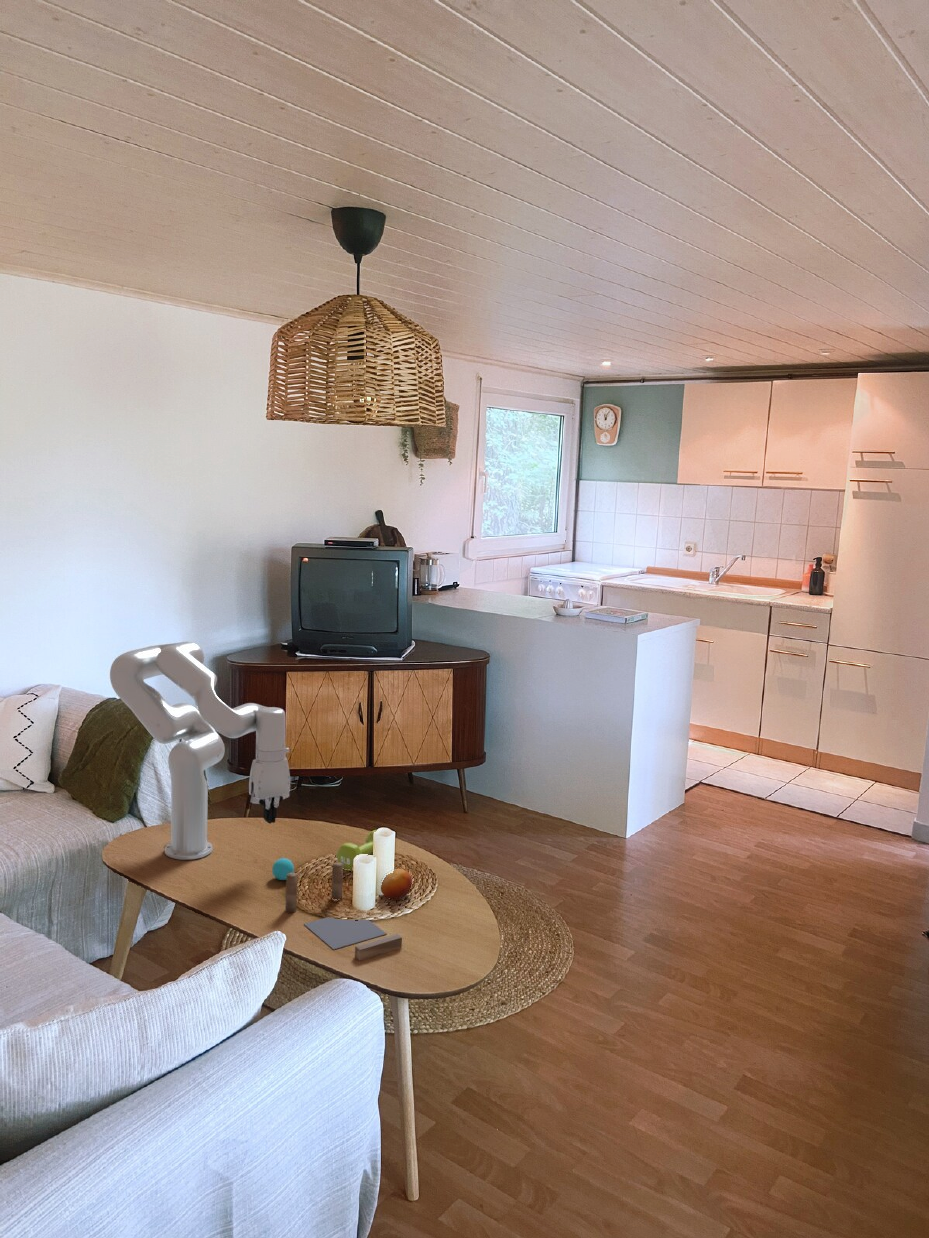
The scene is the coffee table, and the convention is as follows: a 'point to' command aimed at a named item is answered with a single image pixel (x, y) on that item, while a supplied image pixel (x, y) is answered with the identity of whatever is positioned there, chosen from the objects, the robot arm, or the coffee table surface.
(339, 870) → the post
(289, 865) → the ball
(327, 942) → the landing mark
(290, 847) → the coffee table surface
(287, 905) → the post
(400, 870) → the fruit
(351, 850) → the dumbbell
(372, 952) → the strip
